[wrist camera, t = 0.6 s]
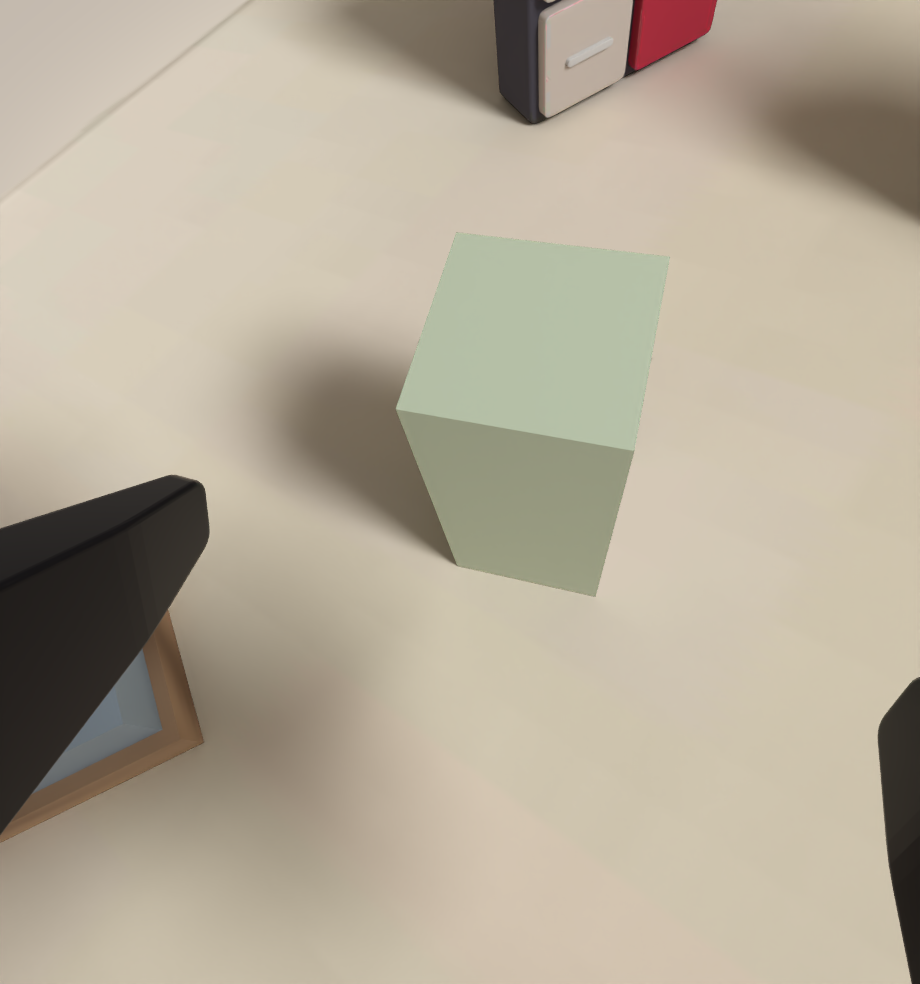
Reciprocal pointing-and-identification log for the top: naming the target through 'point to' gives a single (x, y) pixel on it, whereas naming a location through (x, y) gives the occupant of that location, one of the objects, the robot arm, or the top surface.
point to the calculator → (585, 45)
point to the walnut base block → (137, 758)
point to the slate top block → (112, 724)
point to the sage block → (532, 402)
